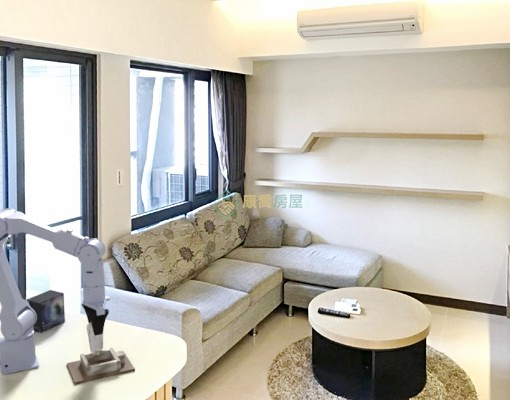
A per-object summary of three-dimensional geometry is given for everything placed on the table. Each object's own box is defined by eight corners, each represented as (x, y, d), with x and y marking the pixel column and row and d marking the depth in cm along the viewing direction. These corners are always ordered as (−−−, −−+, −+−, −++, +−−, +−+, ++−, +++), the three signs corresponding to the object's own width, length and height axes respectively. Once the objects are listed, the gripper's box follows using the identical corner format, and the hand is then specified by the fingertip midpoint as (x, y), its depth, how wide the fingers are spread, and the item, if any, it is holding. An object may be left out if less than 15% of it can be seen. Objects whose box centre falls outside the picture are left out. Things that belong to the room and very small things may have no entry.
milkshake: (102, 358, 150) (100, 324, 148) (85, 355, 151) (82, 322, 149) (111, 350, 154) (108, 317, 152) (94, 348, 156) (91, 315, 154)
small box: (42, 334, 174) (39, 302, 172) (27, 330, 177) (24, 299, 175) (66, 322, 184) (64, 292, 182) (51, 318, 186) (49, 289, 184)
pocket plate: (75, 384, 144) (74, 373, 143) (66, 365, 154) (66, 354, 153) (134, 370, 151) (134, 360, 150) (123, 353, 161) (122, 343, 161)
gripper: (115, 289, 145) (117, 337, 147) (102, 274, 157) (104, 319, 160) (88, 294, 141) (90, 343, 144) (76, 278, 154) (79, 323, 156)
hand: (96, 330), depth 152 cm, fingers closed on milkshake, 4 cm apart
